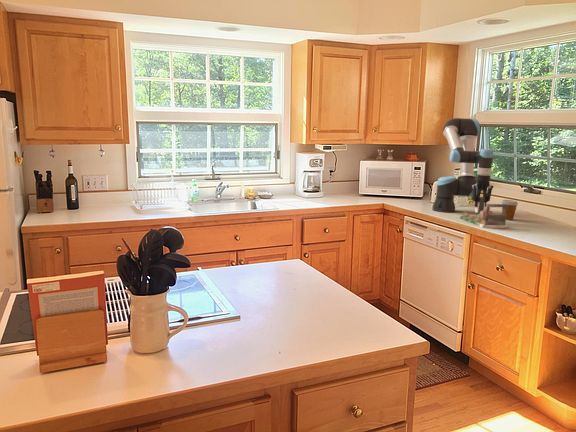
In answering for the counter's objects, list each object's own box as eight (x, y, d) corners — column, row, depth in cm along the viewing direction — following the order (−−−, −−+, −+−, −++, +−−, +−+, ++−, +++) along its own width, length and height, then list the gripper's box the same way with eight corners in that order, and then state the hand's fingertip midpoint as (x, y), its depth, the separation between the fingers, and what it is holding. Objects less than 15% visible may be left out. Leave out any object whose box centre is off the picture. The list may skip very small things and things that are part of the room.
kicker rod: (472, 217, 298) (475, 196, 295) (481, 217, 299) (484, 197, 296) (482, 221, 287) (485, 199, 284) (491, 221, 288) (494, 200, 285)
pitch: (459, 218, 304) (462, 197, 301) (482, 218, 306) (485, 197, 303) (482, 227, 278) (485, 204, 276) (507, 227, 281) (510, 204, 278)
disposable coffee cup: (512, 218, 311) (515, 200, 309) (517, 221, 302) (520, 202, 299) (497, 217, 312) (499, 199, 310) (502, 220, 303) (504, 201, 300)
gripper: (475, 175, 286) (470, 213, 291) (499, 175, 289) (494, 213, 294) (468, 173, 294) (464, 211, 298) (492, 174, 296) (487, 211, 301)
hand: (479, 212), depth 296 cm, fingers closed on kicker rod, 3 cm apart
